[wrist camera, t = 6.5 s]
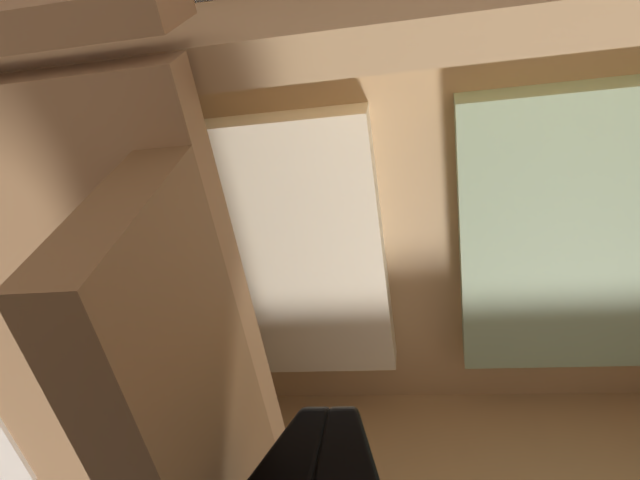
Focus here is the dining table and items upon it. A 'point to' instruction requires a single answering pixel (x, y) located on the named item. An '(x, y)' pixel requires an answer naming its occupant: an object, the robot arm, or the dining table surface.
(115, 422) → the lid
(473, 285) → the mailer box
